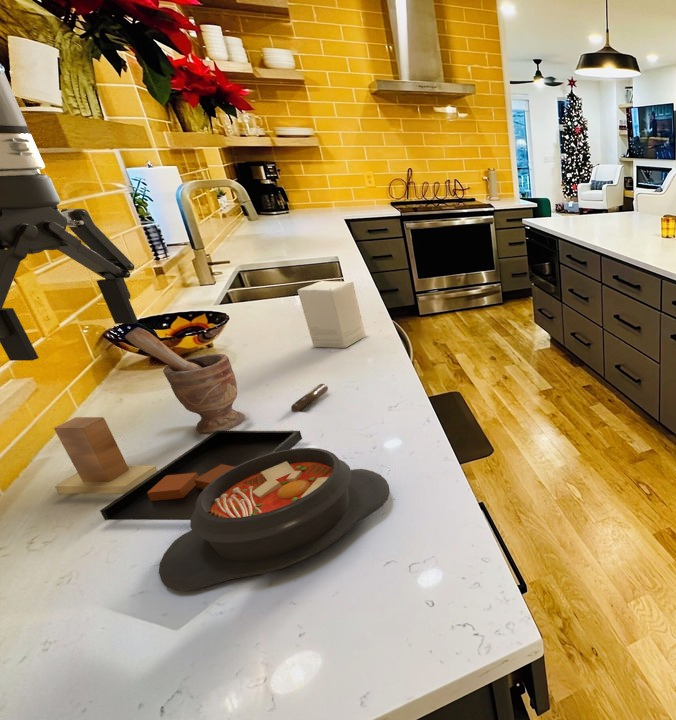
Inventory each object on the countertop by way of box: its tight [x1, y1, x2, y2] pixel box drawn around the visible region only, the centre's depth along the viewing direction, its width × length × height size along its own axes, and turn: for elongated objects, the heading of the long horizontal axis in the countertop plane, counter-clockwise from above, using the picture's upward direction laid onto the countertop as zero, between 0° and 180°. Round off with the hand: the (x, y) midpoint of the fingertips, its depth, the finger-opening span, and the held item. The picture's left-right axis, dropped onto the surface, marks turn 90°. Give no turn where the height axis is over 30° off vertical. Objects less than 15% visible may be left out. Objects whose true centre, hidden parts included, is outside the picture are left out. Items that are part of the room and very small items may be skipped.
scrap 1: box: [147, 473, 199, 501], centre depth 72 cm, size 4×4×2 cm
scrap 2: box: [194, 464, 234, 489], centre depth 73 cm, size 4×4×2 cm
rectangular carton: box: [296, 280, 367, 349], centre depth 126 cm, size 9×9×15 cm
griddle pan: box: [99, 383, 329, 521], centre depth 84 cm, size 14×39×3 cm, turn 0°
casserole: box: [158, 447, 390, 591], centre depth 64 cm, size 25×19×8 cm
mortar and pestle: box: [124, 326, 246, 435], centre depth 85 cm, size 12×9×20 cm
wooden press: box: [53, 416, 159, 494], centre depth 72 cm, size 10×5×11 cm, turn 90°
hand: (80, 339), depth 68 cm, fingers open, 13 cm apart
